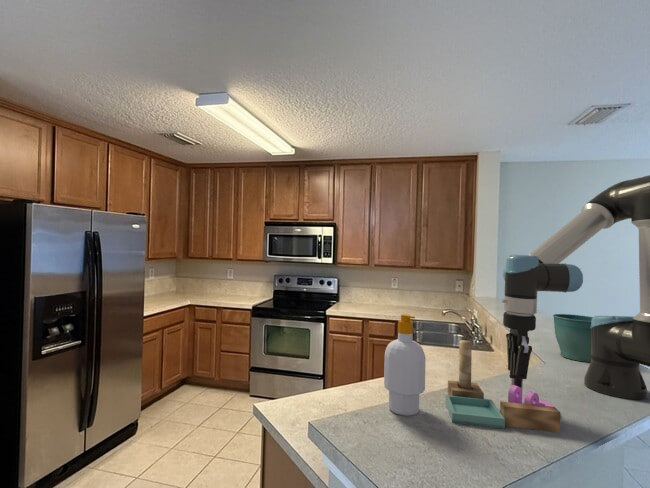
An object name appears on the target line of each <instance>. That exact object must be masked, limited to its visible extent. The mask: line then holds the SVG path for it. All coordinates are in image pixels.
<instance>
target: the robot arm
mask: <svg viewBox="0 0 650 488" xmlns="http://www.w3.org/2000/svg"><path fill="white" fill-rule="evenodd" d="M628 219H629V220H631V221H630V223H631V224H632V225H634V226H635V227H636V228H637V229H638V262H639V263H638V266H639V267H638V270H639V272H638V273H639V275H638V276H639V313H637V314H635V315H634V316H626V315H625V316H624V315H594V316H592V317H593V318H592V320H591V327H590V329H591V362H589V366H588V368H587V371H586V373H585V374H584V377H583V378H584V379H583V380H584V381H583V382H584V386H585V387H586V388H588V389H590V390H593V391H595V392H597V393H600V394H604V395H607V396H611V397H616V398H623V399H627V400H628V399H629V400H645V399H648V388H647V385H646V383H645V380H644V378H643V375H642V372H641V370H640V369H641V368H640V365H642V366H646V367H648V368H650V174H649V175H645V176H642V177H637V178H634V179H628V180H623V181H619V182H618V183H615V184H613V185H611V186H610V187H608V188H606V189H605V190H603V191H601V192H600V193H598V194H597V195H596V196H594V198H592V199H590V200H589V201H587V202H586V203H585V204H584V205H583V206H582V207H581V211H580V213H578V214H577V215H576V216H575V217H573V218H571V220H569V222H567V223H566V224H565V225H564V226H562V227H561V228H559V230H557V231H556V232H555V233H553V234H552V235H551V236H550V237H548V238H547V239H546V240H544V242H542V243H540V245H538V246H537V247H535V249H533V250H531V252H530V253H528V254H509V255H508V256H507V257H506V260H505V267H504V268H503V270H502V277H503V280H504V296H503V297H504V299H501V300H502V301H501V302H502V303H503V304H504V305H503V310H504V311H505V312H503V321H502V325H503V326H504V327H506V328H508V329H509V332H508V333H505V334H506V335H505V336H506V345H507V347H506V350H507V351H506V352H507V354H506V355H507V370H508V372H509V378H510V382H509V383H510V384H509V388H510V387H511V386H512V385H515V386H518V387H520V388H521V389H522V390H523V385H524V383H523V381H524V380H527V378H528V373H529V372H528V371H529V364H530V358H531V353H532V351H533V347H532V346H533V345H529V344H530V338H529V335H528V334H529V333H528V332H532V331H535V329H536V327H537V325H536V323H537V316H536V315H535V314H537V311H538V309H537V308H538V292H553V293H554V292H557V293H568V292H569V293H571V292H572V293H573V292H576V291H579V289H581V288H582V285H583V284H584V274H583V271H582V270H581V268H579V267H578V266H576V265H575V264H570V263H569V264H568V263H562V262H563V261H565V259H567V258H568V257H569V256H571V254H573V253H574V252H576V250H578V249H579V248H580V247H582V246H583V245H584V244H585V243H586V242H588V241H589V240H590V239H591V238H593V237H594V236H595V235H597V234H598V233H599V232H600V231H601V230H603V229H604V230H605V229H609V228H611V227H612V226H613V225H615V224H616V223H618V222H621V221H625V220H628Z"/></svg>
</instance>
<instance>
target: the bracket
mask: <svg viewBox="0 0 650 488" xmlns="http://www.w3.org/2000/svg"><path fill="white" fill-rule="evenodd" d="M507 402H511V403H521V404H529V405H540V406H550V407H555V405H554V404H553V403H550V402H548V401H545V400H541V399H540V396H539V394H538V393H537V392H534V391H529V390H527V392H526V394H525V396H524V402H523V388H522V389H521V388H520V387H518V386H515V385H512V386H511V387H510V386H509V389H508V395H507Z"/></svg>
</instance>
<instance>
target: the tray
mask: <svg viewBox="0 0 650 488" xmlns="http://www.w3.org/2000/svg"><path fill="white" fill-rule="evenodd" d="M444 398H445V400H444V402H445V406H446V409H447V411H448V415H449V418H450V420H451V423H452V424H453V423H455V424H462V425H471V426H480V427H487V428H496V429H506V426H505V418H504V417H503V416H502V414H501V413H500V409H499V408H498V406H496V404H495V402H494V401H493V400H492V399H490V398H488V399H487V398H484V399H480V398H471V397H461V396H451V395H448V394H445V397H444Z"/></svg>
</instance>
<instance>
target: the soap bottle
mask: <svg viewBox="0 0 650 488" xmlns="http://www.w3.org/2000/svg"><path fill="white" fill-rule="evenodd" d="M411 319H416V316H413V315H411V314H405V313H404V314H403V313H402V314H400V319H399V320H397V321H398V323H397V324H398V328H397V339H394V340H392V341H390V342H389V343H388V344H387V346H386V348H385V352H384V365H383V367H384V368H383V370H384V372H383V375H384V376H383V385H384V389H386V390H387V391H388V408H389V410H390V411H392V413H394V414H395V415H396V414H397V415H401V416H408V417H409V416H414V415H416V414H418V413H419V411H420V394H423V393H424V392H425V390H426V362H427V361H426V354H425V351H424V349H423V347H422V346H421V345H420V344H419V343H418V342H416V341H415V340H413V333H414V332H413V326H414V325H413V324H414V323H413V320H411Z"/></svg>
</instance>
